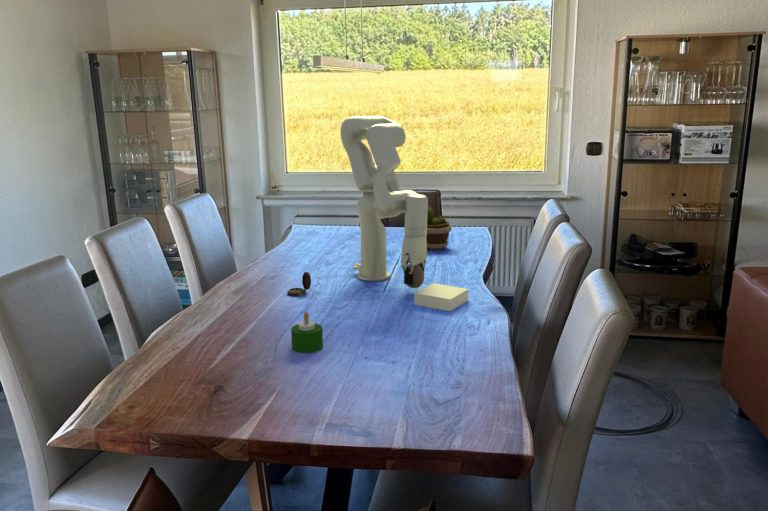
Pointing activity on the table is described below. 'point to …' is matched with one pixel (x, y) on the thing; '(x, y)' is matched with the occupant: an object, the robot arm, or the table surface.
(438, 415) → the table surface
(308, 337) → the candle
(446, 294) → the plinth
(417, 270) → the vase
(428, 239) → the flowerpot
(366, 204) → the robot arm
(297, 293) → the compass
